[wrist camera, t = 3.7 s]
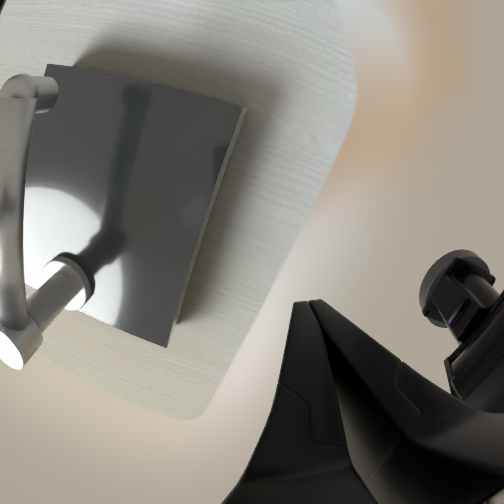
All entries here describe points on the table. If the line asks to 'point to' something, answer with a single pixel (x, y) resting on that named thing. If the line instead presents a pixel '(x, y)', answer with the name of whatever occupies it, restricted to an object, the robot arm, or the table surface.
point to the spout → (17, 210)
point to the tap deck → (121, 197)
